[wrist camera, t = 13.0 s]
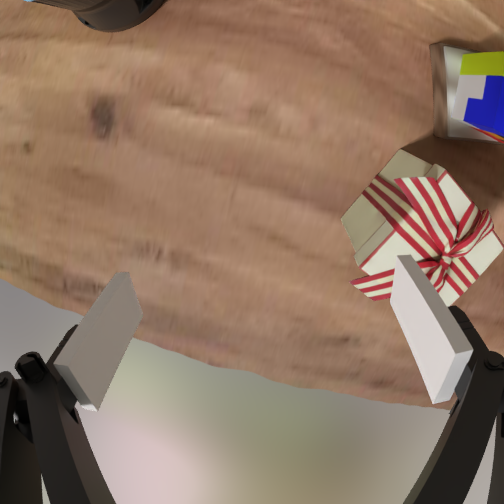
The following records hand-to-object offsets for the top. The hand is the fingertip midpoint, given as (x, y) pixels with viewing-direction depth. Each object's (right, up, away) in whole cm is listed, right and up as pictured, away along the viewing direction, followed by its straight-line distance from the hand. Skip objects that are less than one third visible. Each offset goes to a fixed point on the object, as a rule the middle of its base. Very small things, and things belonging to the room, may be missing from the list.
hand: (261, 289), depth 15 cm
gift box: (+21, +8, +31) cm, 38 cm away
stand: (+33, +26, +20) cm, 46 cm away
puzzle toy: (+32, +23, +17) cm, 43 cm away
